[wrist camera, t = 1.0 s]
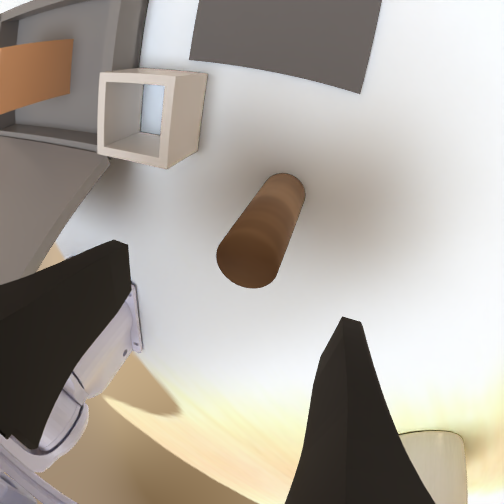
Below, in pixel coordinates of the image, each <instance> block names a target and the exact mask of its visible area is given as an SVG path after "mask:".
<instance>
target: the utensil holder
mask: <svg viewBox="0 0 504 504" xmlns="http://www.w3.org/2000/svg"><path fill="white" fill-rule="evenodd" d="M399 437H400V439H401V441H402V444H403V446H404V448H405V450H406V452H407V454H408V456H409V458H410V460H411V462H412V464H413V466H414V467H415V469H416V471H417V473H418V475H419V477H420V479H421V480H422V482H423V484H424V486H425V487H426V489H427V491H428V492H429V494H430V495H431V497H432V499H433V500H434V502H435V503H436V504H467V470H466V459H465V449H464V442H463V439H462V438H461V437H460V436H459V435H457V434H455V433H451V432H447V431H423V432H414V433H408V434H403V435H399Z"/></svg>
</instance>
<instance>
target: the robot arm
mask: <svg viewBox="0 0 504 504" xmlns="http://www.w3.org/2000/svg"><path fill="white" fill-rule="evenodd" d="M132 350H133V351H136V352H138V353H141V352H142V350H143V348H142V341H141V334H140V326H139V318H138V309H137V300H136V290H135V287H134V285H132V284H131V276H130V265H129V252H128V245H127V244H124V243H121V242H119V241H116V240H112V241H109V242H106V243H104V244H101V245H99V246H96V247H94V248H92V249H89V250H87V251H85V252H83V253H80V254H78V255H76V256H73V257H69V258H68V259H67V260H64V261H62V262H60V263H58V264H56V265H53V266H50V267H48V268H46V269H43V270H41V271H38V272H36V273H33V274H31V275H28V276H26V277H23V278H20V279H17V280H14V281H11V282H8V283H5V284H2V285H0V504H37V501H36V499H35V498H37V499H38V500H39V501H40V502H42V503H43V504H77V503H76V502H74V501H73V500H71V499H70V498H68V497H67V496H65V495H64V494H62V493H61V492H59V491H58V490H57V489H55V488H54V487H52V486H51V485H50V484H48V483H47V482H46V481H44V480H43V479H42V478H41V477H39V476H38V475H37V474H35V473H34V472H44V471H45V470H46V469H48V468H49V467H50V466H51V465H52V464H53V463H54V462H55V461H56V460H57V459H58V458H59V457H61V456H62V455H64V454H66V453H67V452H68V451H69V450H71V449H72V448H73V446H75V444H76V443H77V442H78V440H79V439H80V437H81V436H82V434H83V432H84V431H85V428H86V426H87V423H88V419H89V415H88V406H87V404H86V403H84V402H85V401H86V399H88V398H92V397H95V396H97V395H99V394H100V393H102V392H103V391H104V390H105V389H106V388H107V386H108V385H109V383H110V382H111V380H112V379H113V378H114V376H115V374H116V373H117V372H118V370H119V369H120V367H121V366H122V365H123V363H124V362H125V360H126V359H127V357H128V356H129V355H130V353H131V352H132ZM4 472H6V473H7V474H8V475H9V476H10V477H11V478H12V479H11V478H10V477H8V476H7V475H5V474H4ZM13 479H14V480H15V481H14V480H13ZM32 495H33V496H34V497H35V498H34V497H33V496H32ZM285 504H436V503H435V502H434V500H433V499H432V497H431V495H430V494H429V492H428V491H427V489H426V487H425V486H424V484H423V482H422V480H421V479H420V477H419V475H418V473H417V471H416V469H415V467H414V466H413V464H412V462H411V460H410V458H409V456H408V454H407V452H406V450H405V448H404V446H403V444H402V441H401V439H400V437H399V435H398V432H397V430H396V428H395V425H394V423H393V420H392V418H391V415H390V412H389V410H388V407H387V404H386V401H385V399H384V396H383V393H382V390H381V387H380V384H379V381H378V377H377V374H376V371H375V368H374V365H373V361H372V358H371V355H370V351H369V348H368V344H367V341H366V337H365V333H364V330H363V326H362V324H361V322H359V321H356V320H352V319H349V318H346V317H342V318H341V320H340V322H339V324H338V326H337V327H336V329H335V331H334V333H333V335H332V337H331V339H330V341H329V342H328V344H327V346H326V348H325V350H324V351H323V353H322V355H321V357H320V361H319V364H318V368H317V372H316V376H315V380H314V384H313V389H312V396H311V402H310V409H309V415H308V421H307V427H306V433H305V439H304V444H303V449H302V453H301V457H300V461H299V464H298V467H297V470H296V473H295V476H294V479H293V482H292V485H291V488H290V491H289V494H288V496H287V499H286V502H285Z"/></svg>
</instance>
